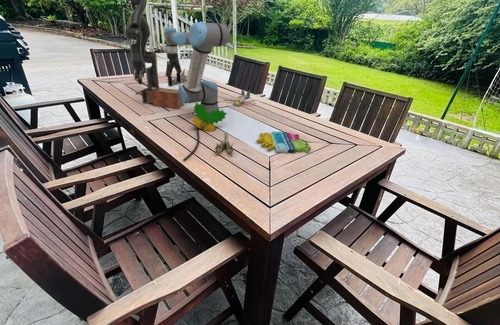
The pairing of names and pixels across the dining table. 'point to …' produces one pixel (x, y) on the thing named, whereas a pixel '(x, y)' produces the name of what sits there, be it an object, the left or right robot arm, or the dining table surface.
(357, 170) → the dining table surface
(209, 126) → the ornament
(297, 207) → the dining table surface
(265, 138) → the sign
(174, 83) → the airplane
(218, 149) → the jawbone
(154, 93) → the cabinet
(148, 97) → the drawer
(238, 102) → the toy
